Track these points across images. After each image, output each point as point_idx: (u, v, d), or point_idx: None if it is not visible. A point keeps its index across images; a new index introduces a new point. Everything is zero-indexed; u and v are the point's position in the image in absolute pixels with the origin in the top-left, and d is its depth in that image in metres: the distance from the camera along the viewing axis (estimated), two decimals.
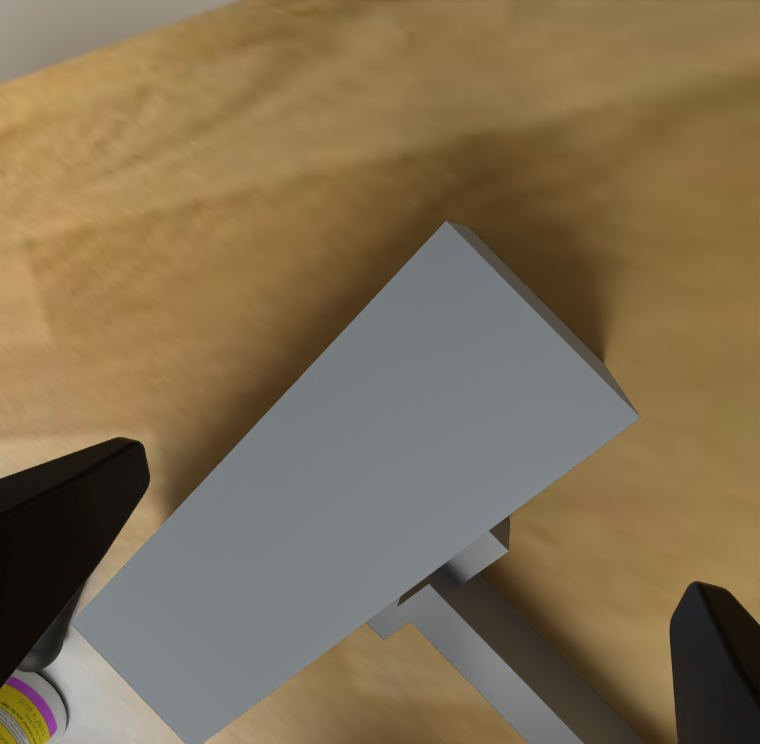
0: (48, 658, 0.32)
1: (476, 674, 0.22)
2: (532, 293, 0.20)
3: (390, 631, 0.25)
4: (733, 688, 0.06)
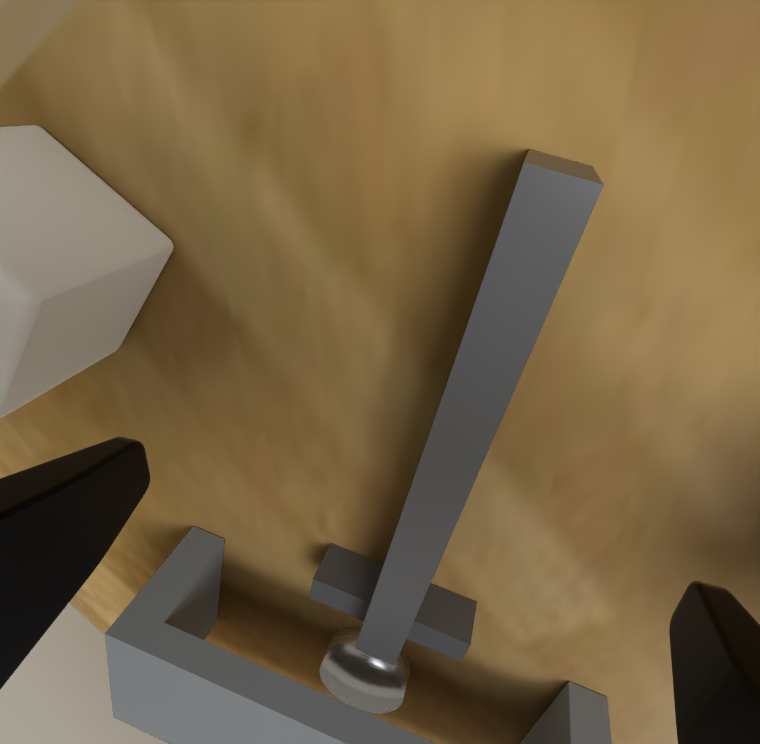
0: None
1: (406, 605, 0.22)
2: None
3: (456, 640, 0.24)
4: (733, 688, 0.06)
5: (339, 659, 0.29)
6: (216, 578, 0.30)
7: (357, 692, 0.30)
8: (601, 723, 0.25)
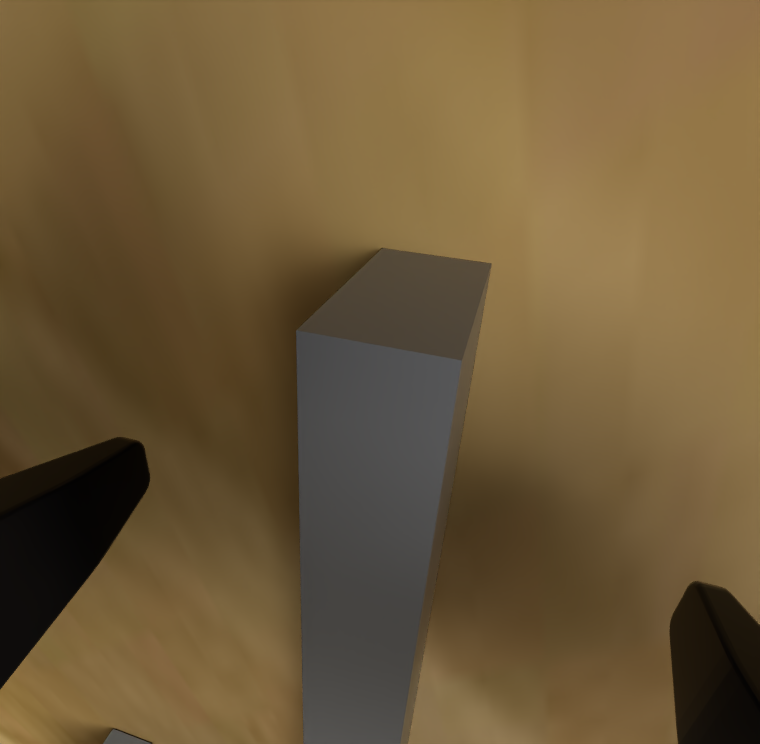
0: None
1: None
2: None
3: None
4: (733, 688, 0.06)
5: None
6: None
7: None
8: None
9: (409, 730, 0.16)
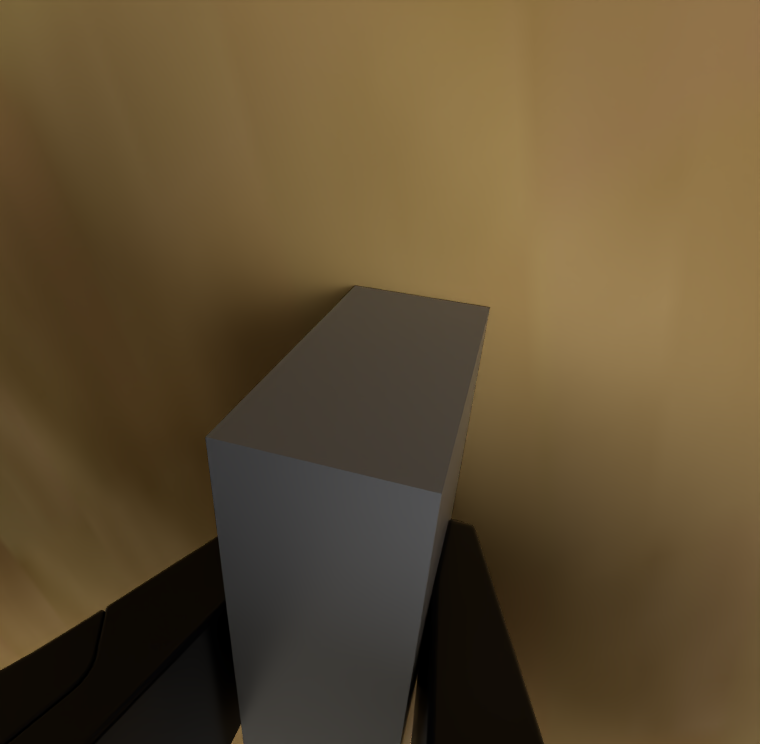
0: None
1: None
2: None
3: None
4: (430, 601, 0.06)
5: None
6: None
7: None
8: None
9: None
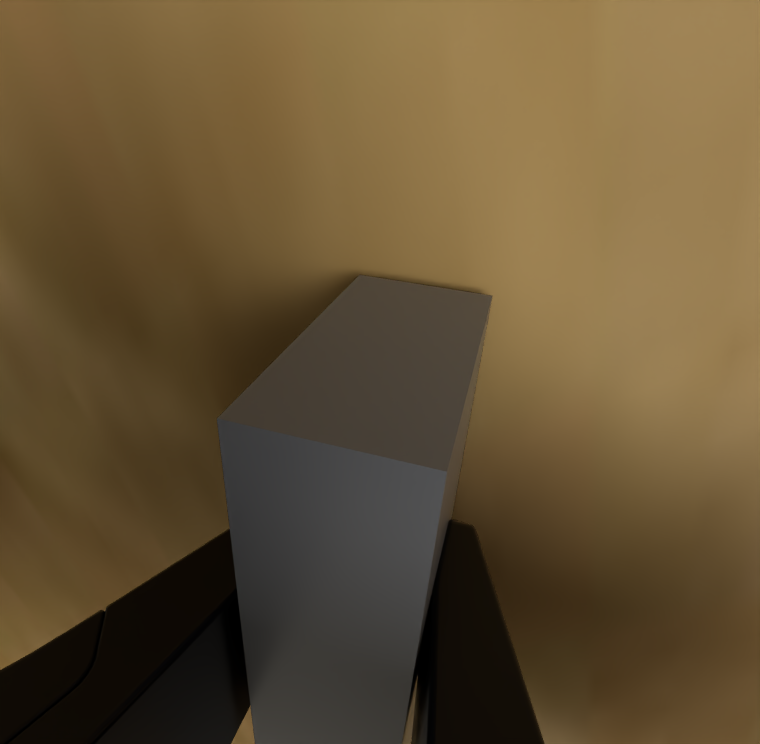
0: None
1: None
2: None
3: None
4: (431, 601, 0.06)
5: None
6: None
7: None
8: None
9: None
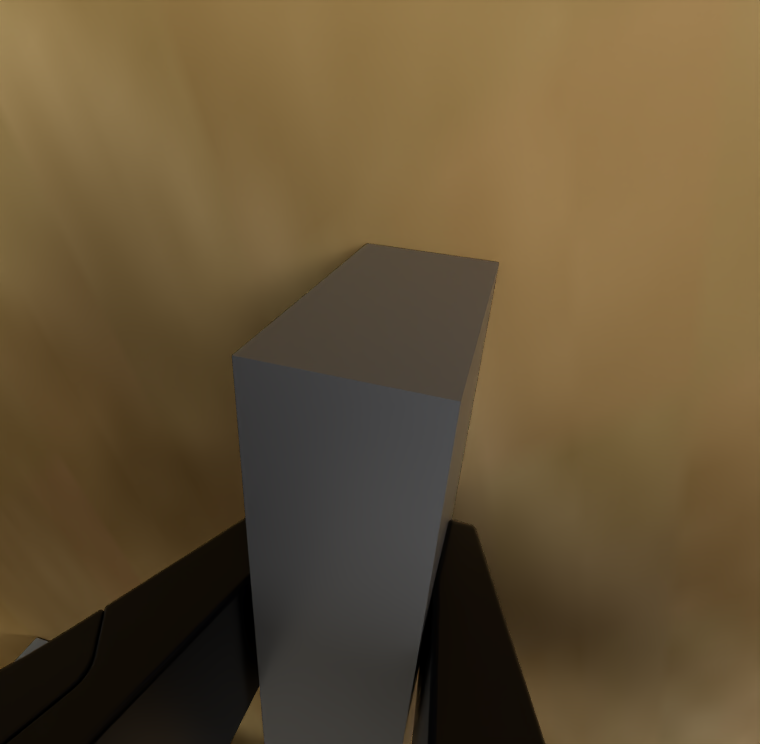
0: None
1: None
2: None
3: None
4: (431, 602, 0.06)
5: None
6: None
7: None
8: None
9: None
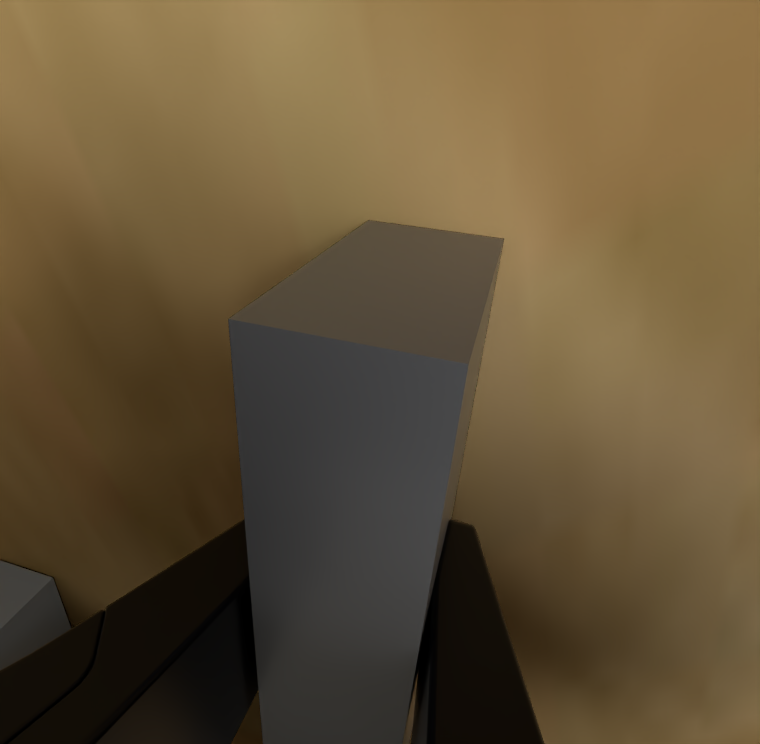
0: None
1: None
2: None
3: None
4: None
5: None
6: None
7: None
8: None
9: None
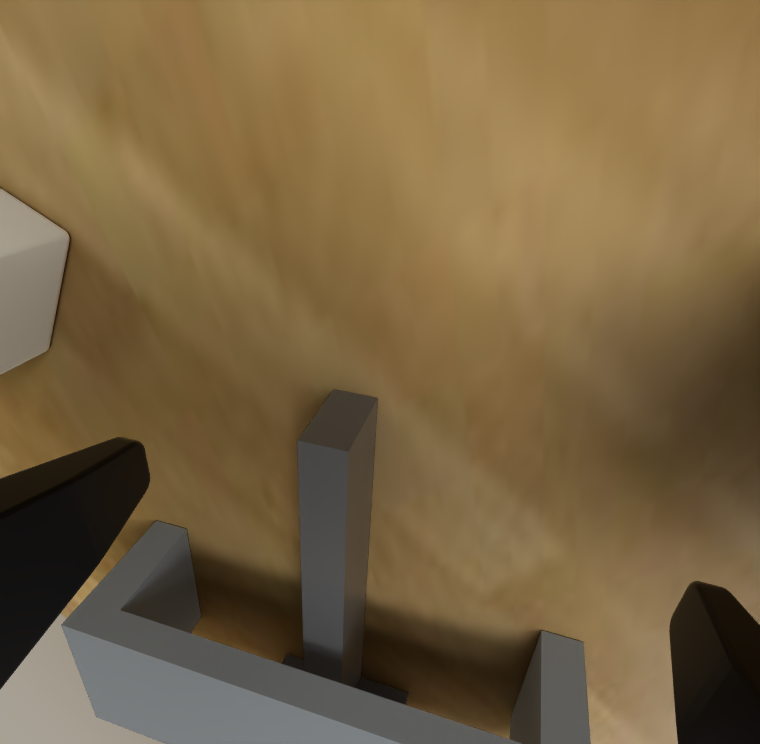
0: None
1: None
2: None
3: None
4: (733, 688, 0.06)
5: None
6: (187, 571, 0.31)
7: None
8: (576, 668, 0.24)
9: (361, 624, 0.28)
